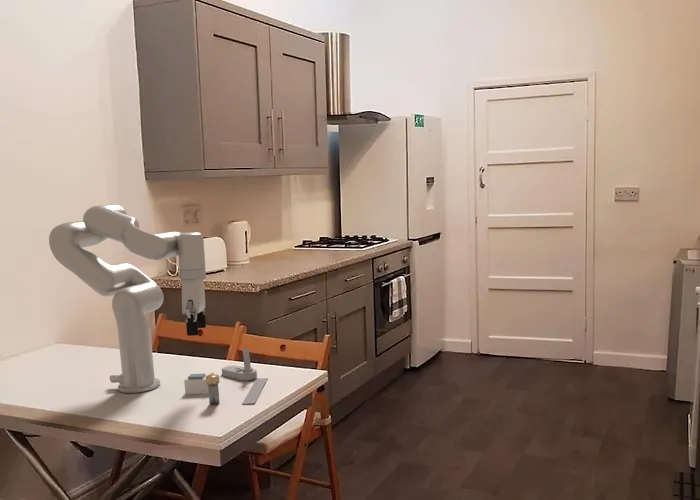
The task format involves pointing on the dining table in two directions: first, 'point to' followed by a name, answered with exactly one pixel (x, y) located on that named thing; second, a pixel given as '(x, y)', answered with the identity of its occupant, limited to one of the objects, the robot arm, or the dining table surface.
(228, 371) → the electronic device
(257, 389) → the strip
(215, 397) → the knob
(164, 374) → the dining table surface
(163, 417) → the dining table surface
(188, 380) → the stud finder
